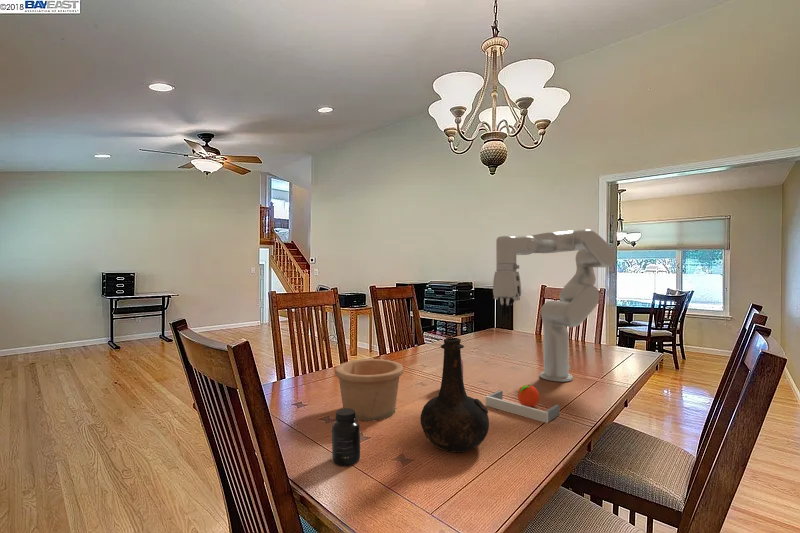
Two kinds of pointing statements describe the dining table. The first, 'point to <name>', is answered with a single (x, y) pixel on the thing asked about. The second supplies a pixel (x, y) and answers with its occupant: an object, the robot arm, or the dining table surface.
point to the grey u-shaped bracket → (521, 408)
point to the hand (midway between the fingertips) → (506, 315)
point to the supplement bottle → (345, 438)
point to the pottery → (369, 387)
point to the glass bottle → (454, 408)
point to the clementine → (528, 395)
